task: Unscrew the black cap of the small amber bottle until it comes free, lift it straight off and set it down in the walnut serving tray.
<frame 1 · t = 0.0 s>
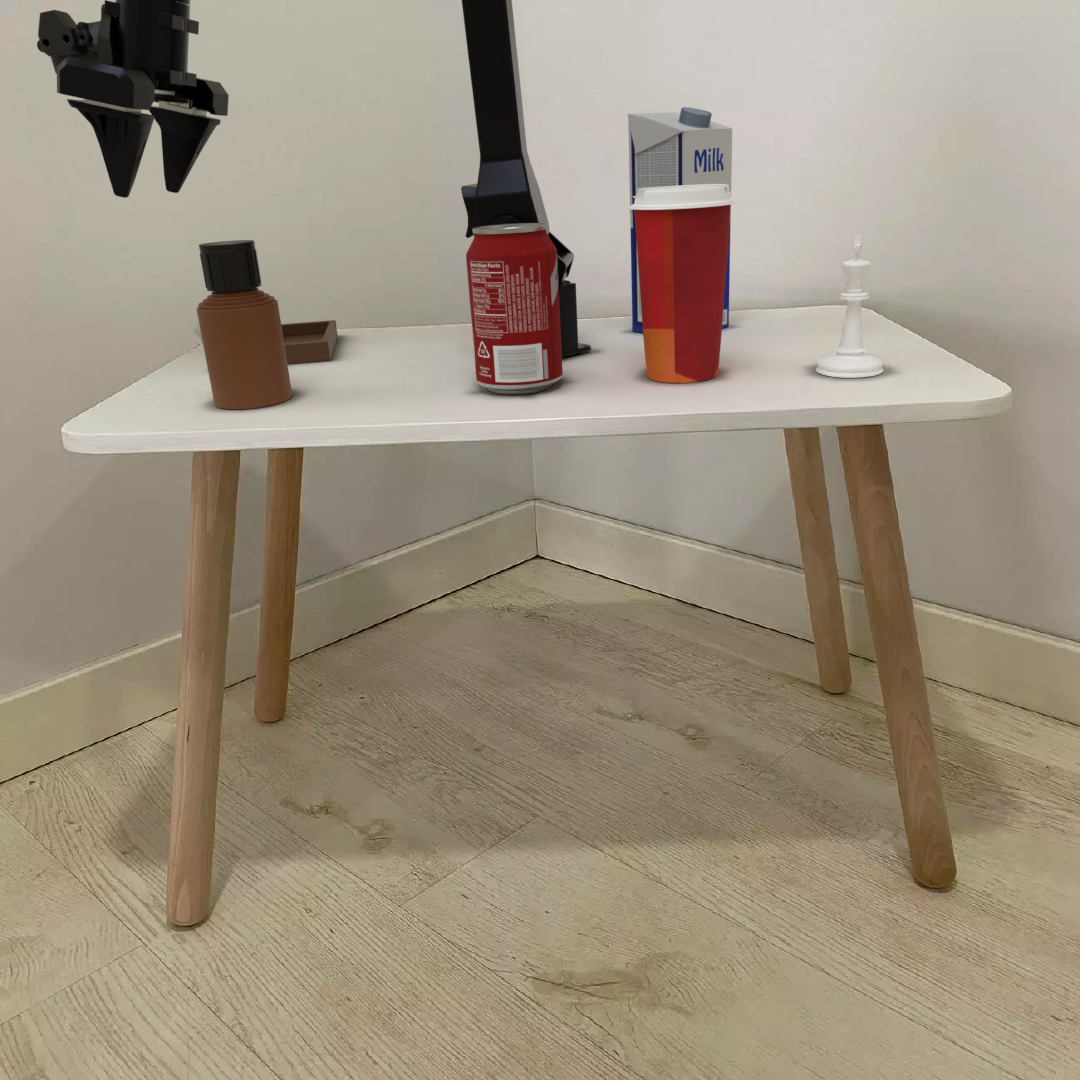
hand: (148, 194, 85), 15 cm above the table, tool pointing down, fingers open, 9 cm apart
milk carton: (680, 331, 94), on the table
cap: (227, 248, 71), point 12 cm above the table, screwed on, not yet turned
soda can: (520, 389, 74), on the table
chess piece: (849, 373, 73), on the table
bottle: (253, 400, 75), on the table
tray: (282, 352, 94), on the table
paper cup: (681, 377, 75), on the table
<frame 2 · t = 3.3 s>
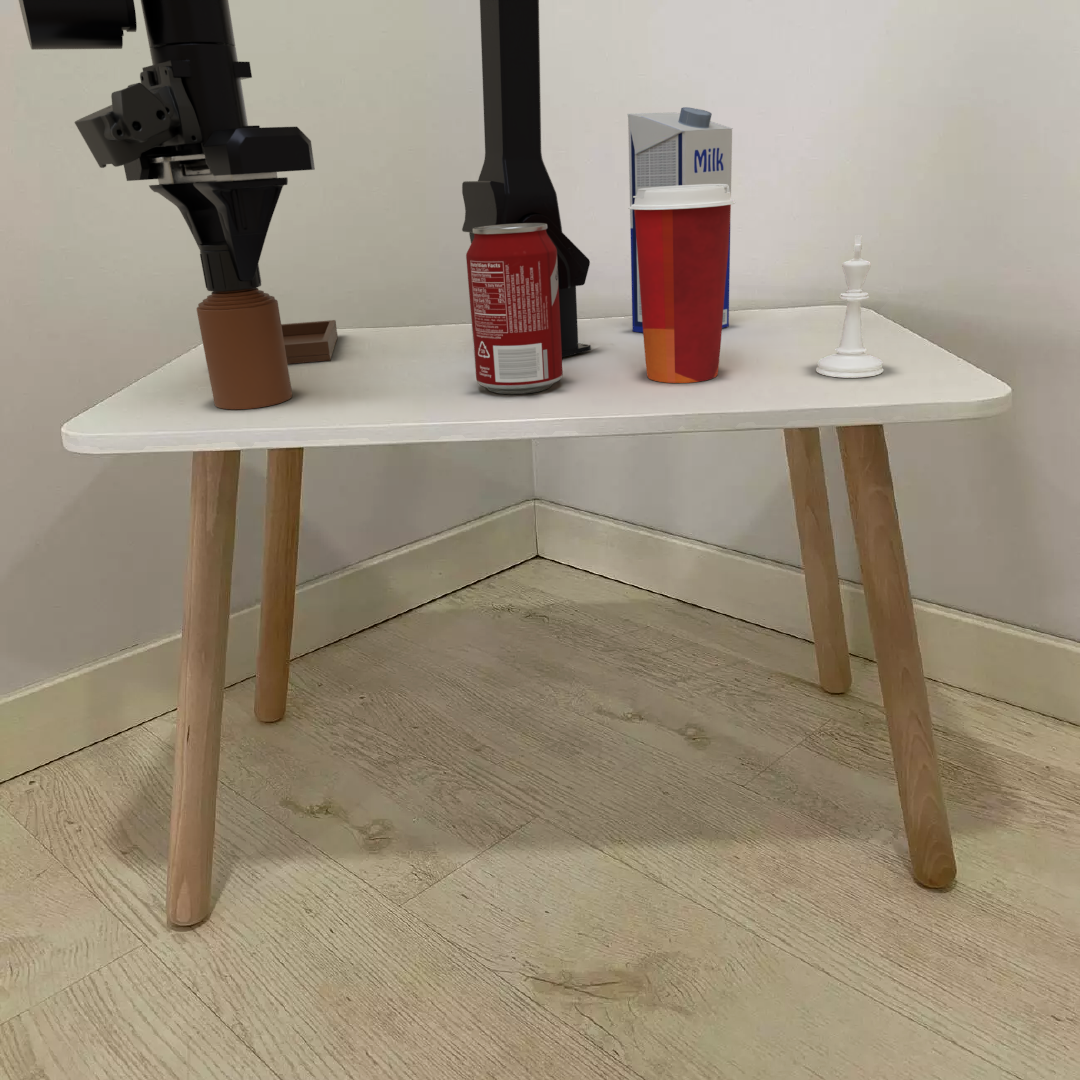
hand: (233, 279, 72), 9 cm above the table, tool pointing down, fingers closed on cap, 4 cm apart
cap: (227, 248, 71), point 12 cm above the table, screwed on, not yet turned, touching gripper
everything else where it was.
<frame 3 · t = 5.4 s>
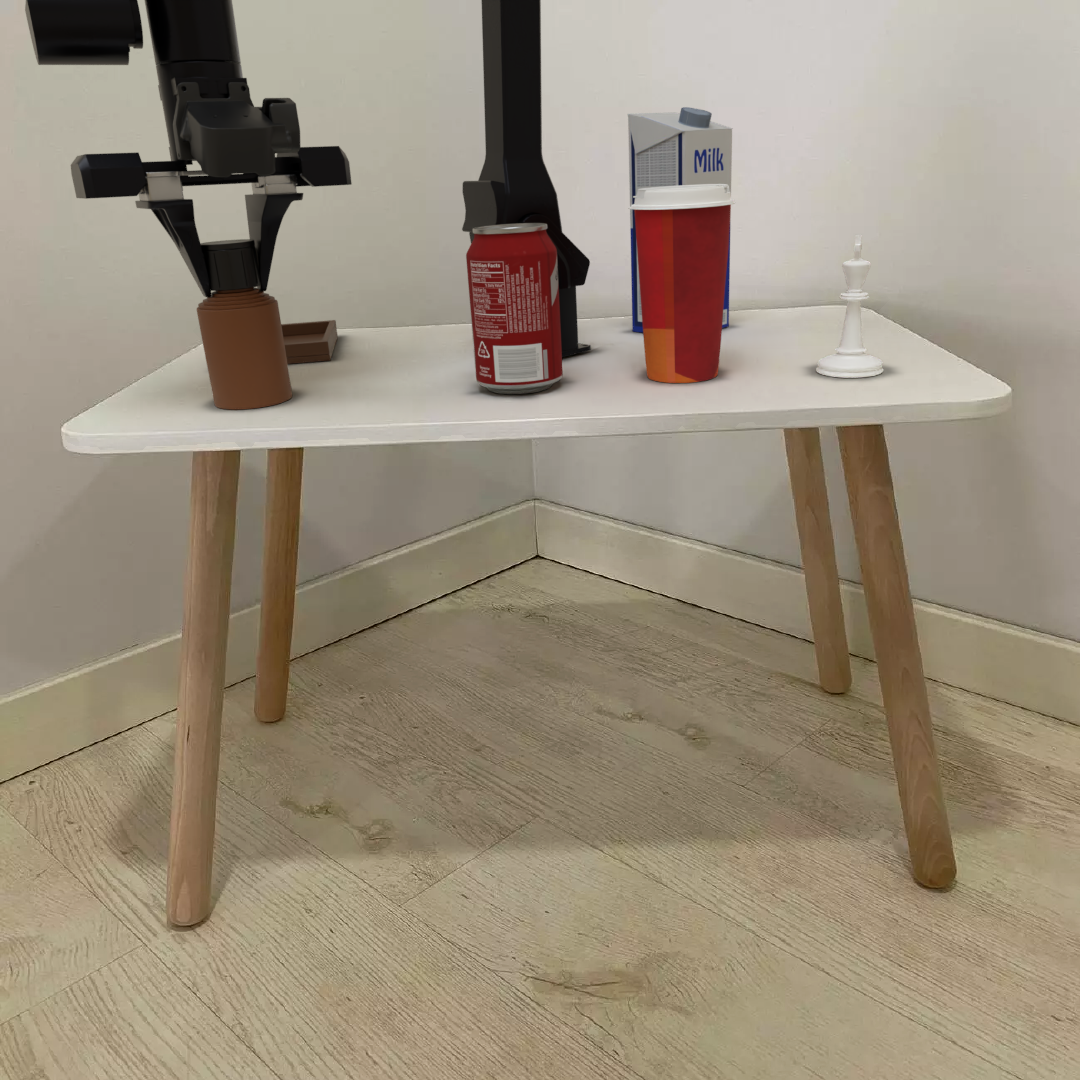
hand: (234, 293, 72), 8 cm above the table, tool pointing down, fingers closed on cap, 4 cm apart
cap: (227, 247, 71), point 12 cm above the table, turned 78° so far, risen 0.1 cm, still on its thread, touching gripper
bottle: (253, 400, 75), on the table, touching gripper
everything else where it was.
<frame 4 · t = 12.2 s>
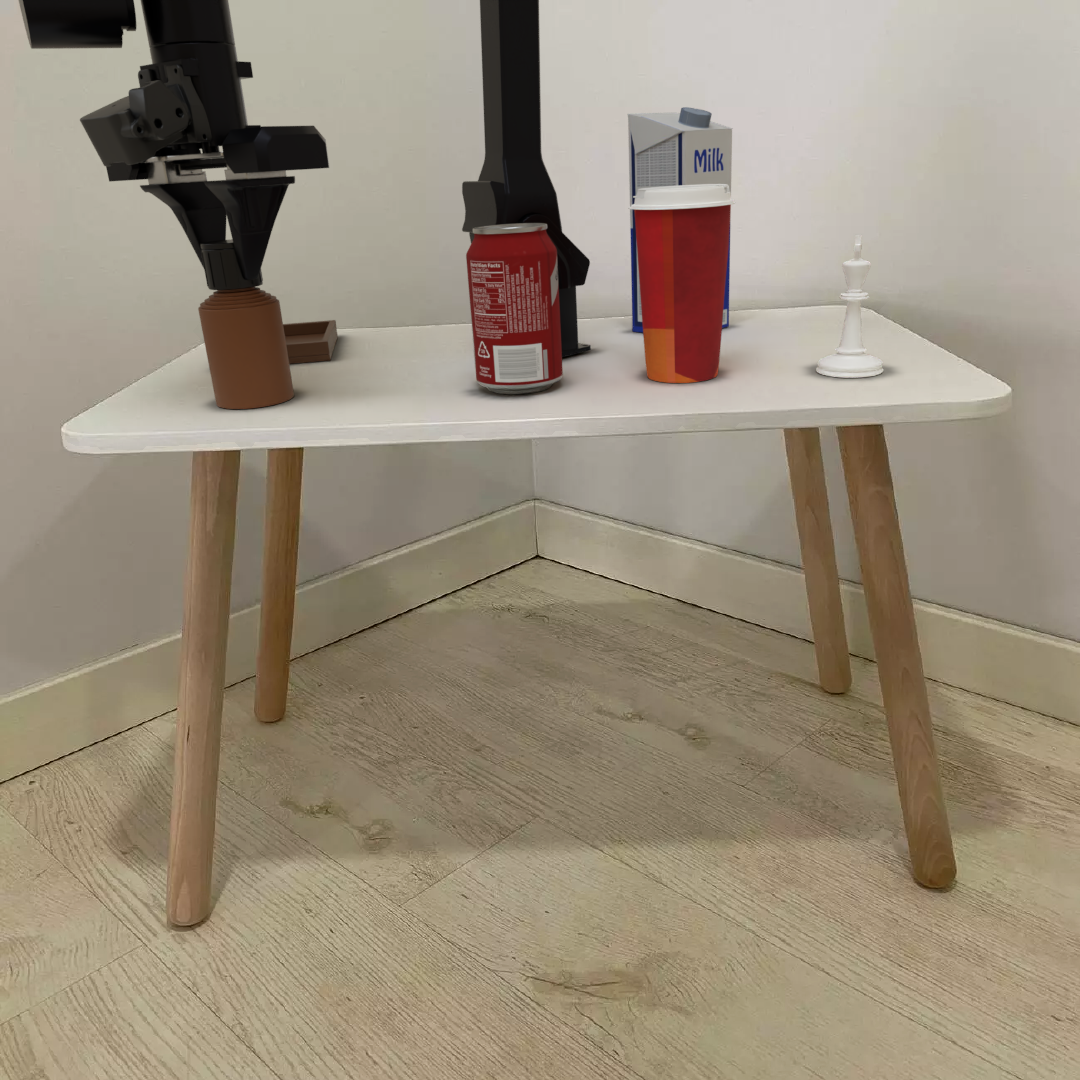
hand: (233, 278, 72), 9 cm above the table, tool pointing down, fingers closed on cap, 4 cm apart
cap: (229, 246, 71), point 12 cm above the table, turned 88° so far, risen 0.1 cm, still on its thread, touching gripper
bottle: (255, 399, 75), on the table
everything else where it was.
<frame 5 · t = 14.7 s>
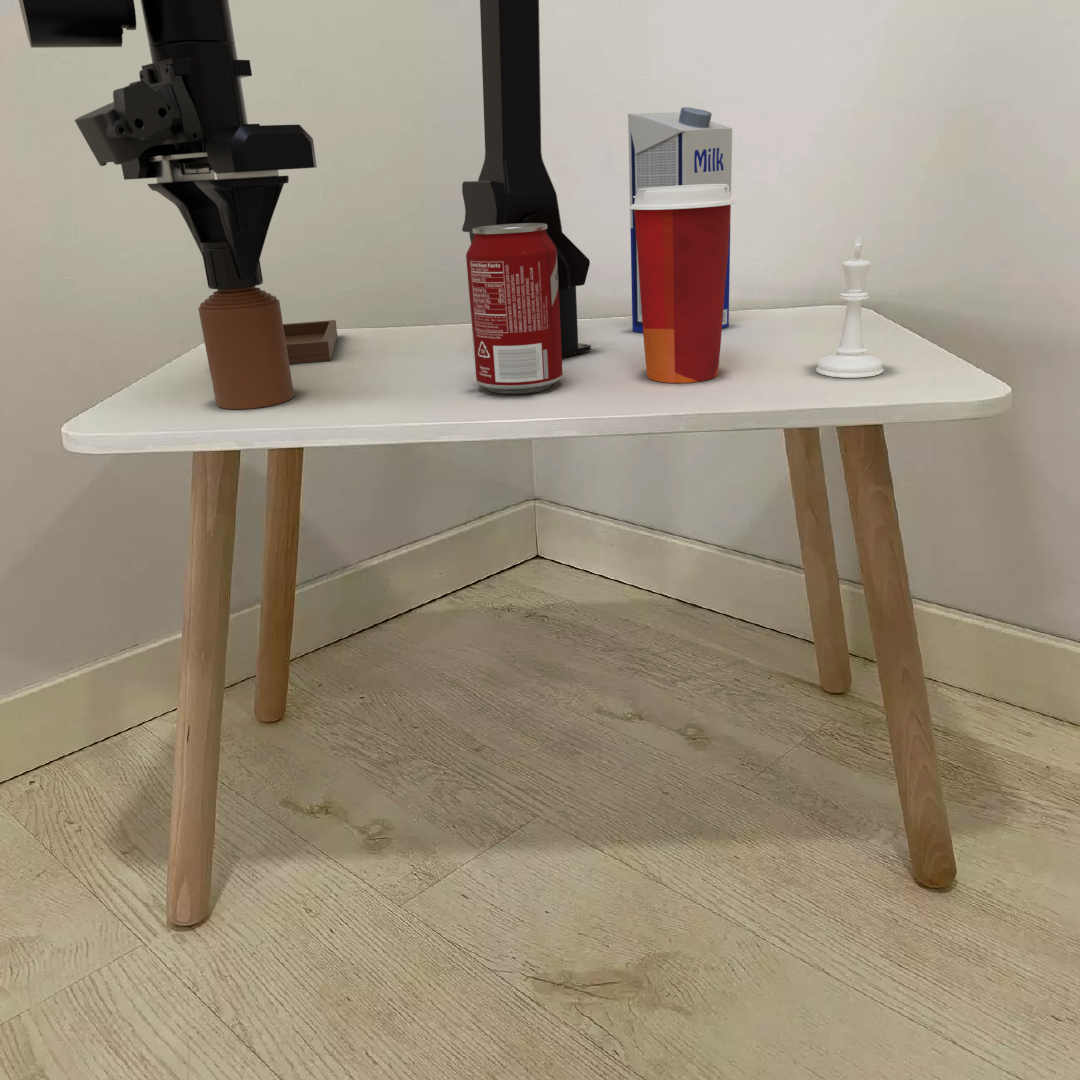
hand: (233, 277, 72), 9 cm above the table, tool pointing down, fingers closed on cap, 4 cm apart
cap: (229, 245, 71), point 12 cm above the table, turned 156° so far, risen 0.1 cm, still on its thread, touching gripper
everything else where it was.
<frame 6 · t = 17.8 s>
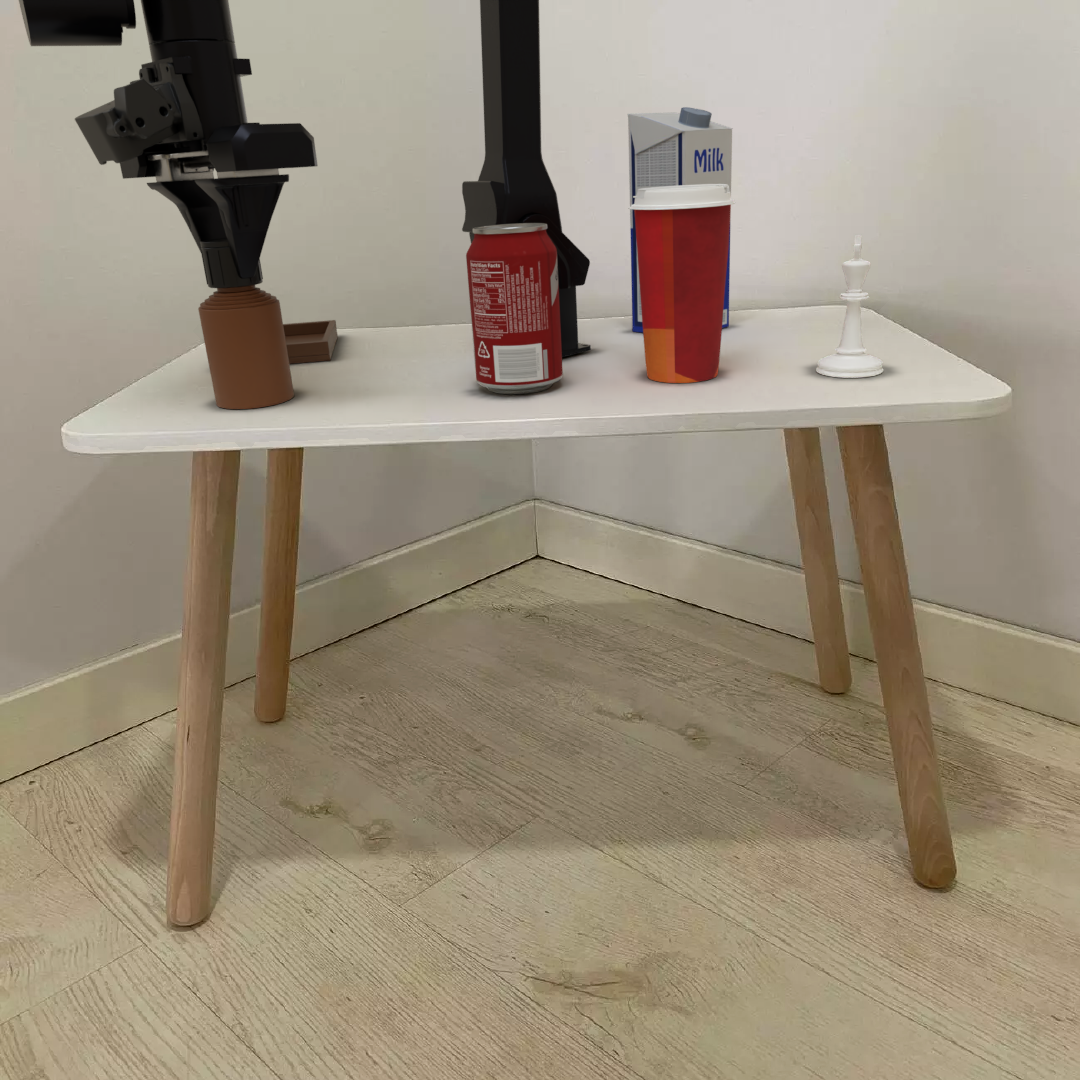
hand: (232, 276, 72), 10 cm above the table, tool pointing down, fingers closed on cap, 4 cm apart
cap: (228, 244, 71), point 12 cm above the table, turned 234° so far, risen 0.2 cm, still on its thread, touching gripper
everything else where it was.
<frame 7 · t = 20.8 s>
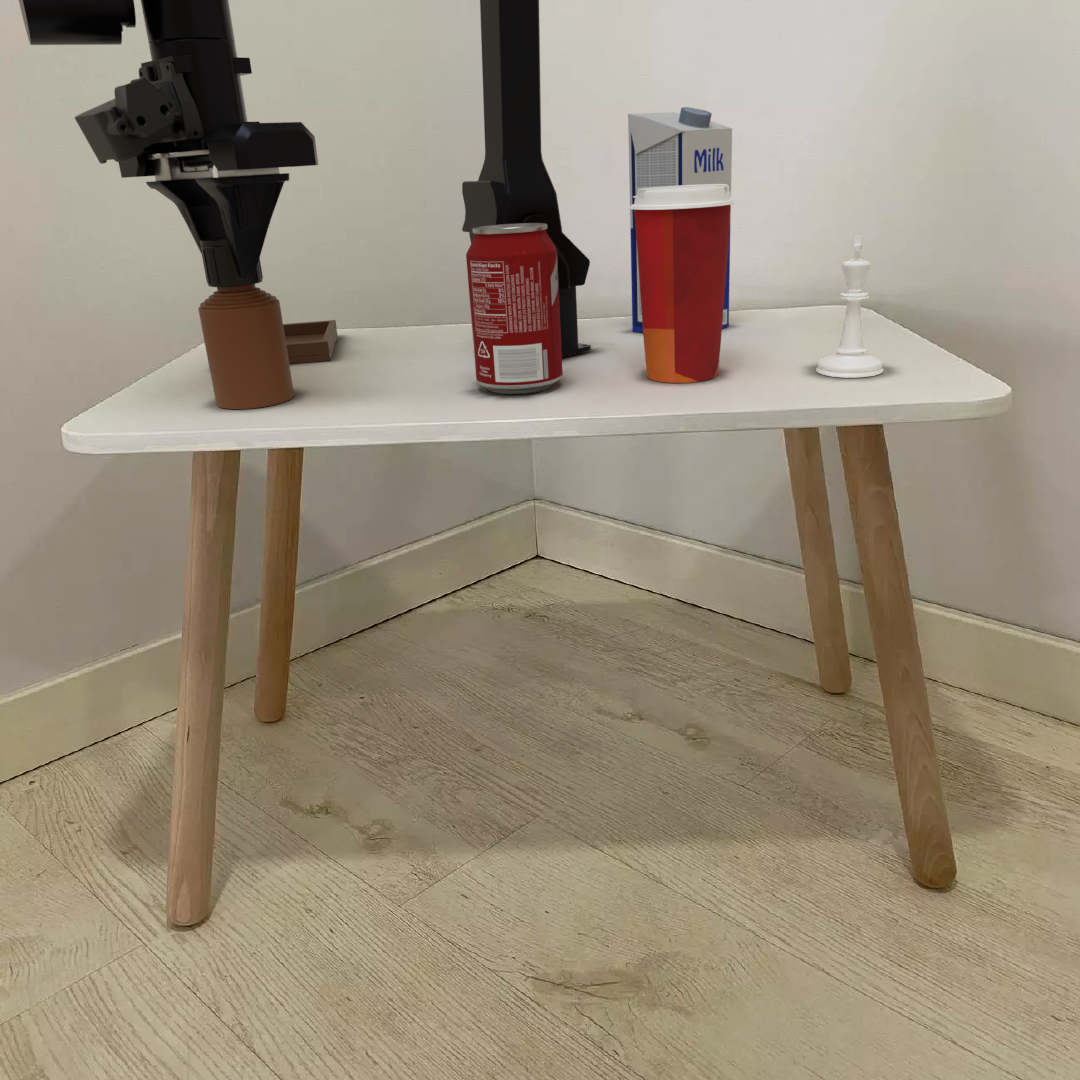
hand: (232, 275, 72), 10 cm above the table, tool pointing down, fingers closed on cap, 4 cm apart
cap: (228, 243, 71), point 12 cm above the table, turned 312° so far, risen 0.3 cm, still on its thread, touching gripper
everything else where it was.
when the fingers open (3 cm above the table, at t = 27.7 s): cap drops 2 cm, resting on tray.
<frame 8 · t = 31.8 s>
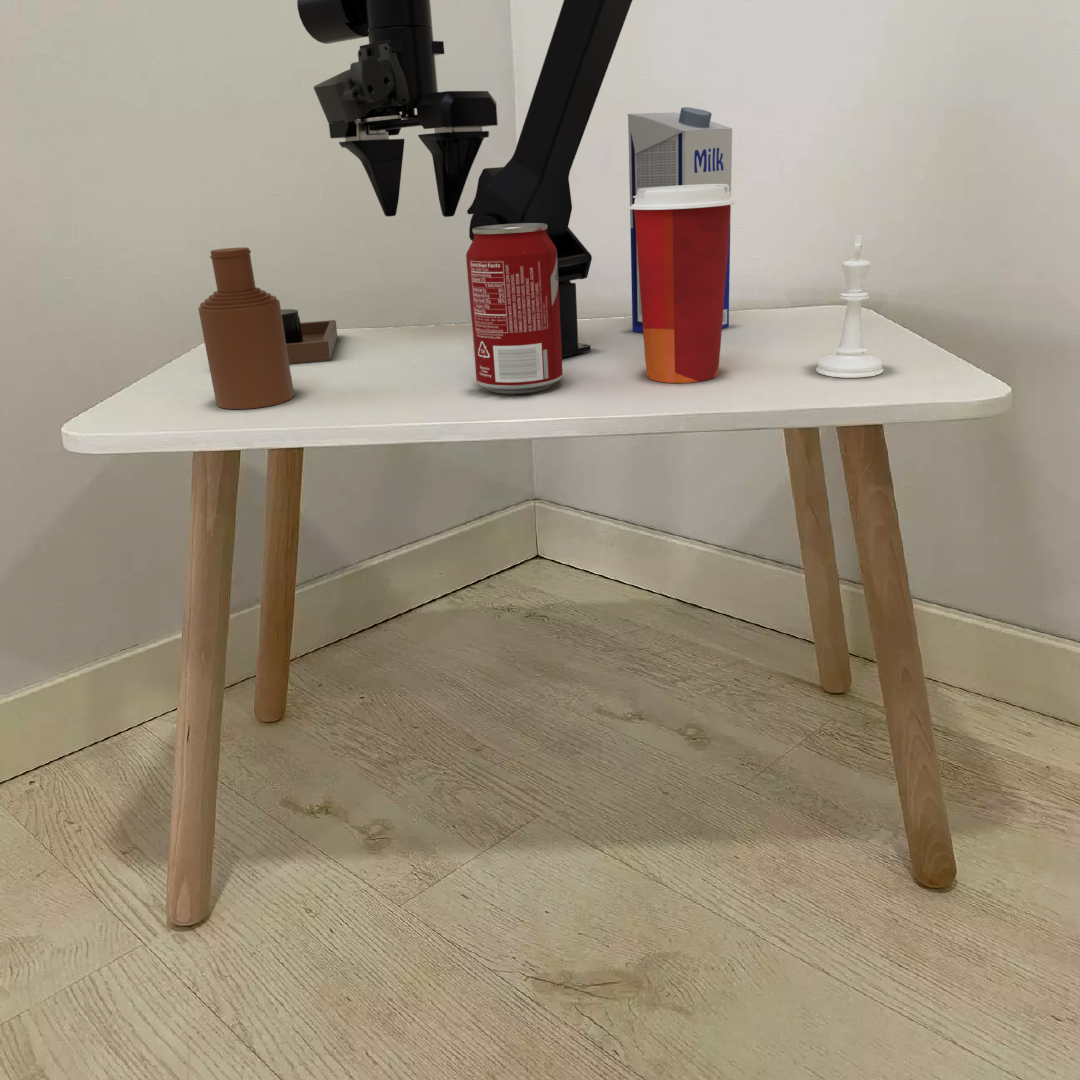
hand: (418, 216, 90), 12 cm above the table, tool pointing down, fingers open, 9 cm apart
cap: (277, 316, 93), point 3 cm above the table, off its thread, touching tray
everything else where it was.
at the end: cap inside the target area on the tray (0.1 cm from its centre), point 3.5 cm above the tray's base; cap point 3.5 cm above the table; the gripper is holding nothing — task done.
